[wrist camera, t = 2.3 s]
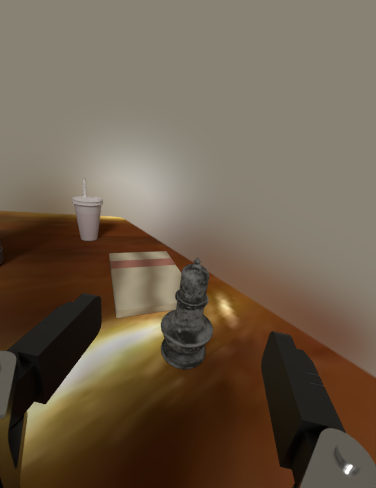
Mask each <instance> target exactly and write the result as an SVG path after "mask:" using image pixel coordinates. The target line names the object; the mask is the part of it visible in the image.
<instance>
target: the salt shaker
mask: <svg viewBox="0 0 376 488" xmlns="http://www.w3.org/2000/svg"><path fill="white" fill-rule="evenodd" d="M194 262H195V264H190V265H187V266H185V267H184V268H183V270H182V274H181V281H180V289H179V290H178V291H177V292H176V293H175V299H176V301H177V306H176V310H173V311H170V312H169V313H167V314H166V315H165V316H164V317H163V319H162V322H161V330H162V332H163V335H164V338H165V339H164V340H163V342H162V345H161V353H162V356H163V358H164V359H165V360H166V362H167V363H169V364H170V365H171V366H173V367H176V368H179V369H192V368H194V367H197V366H198V365H200V364H201V363H202V361H203V360H204V357H205V347H204V346H205V344H206V343H207V342H208V341H209V340H210V338H211V337H212V334H213V327H212V324H211V322H210V321H209V319H208V318H207V317H206V316H204V315H203V311H204V307H205V306H206V305H207V303H208V297H207V295H206V291H207V286H208V280H209V273H208V271H207V269H206V268H204V267H203V266H201V265H199V263H201V262H200V260H199V258H197V259H196V260H194Z"/></svg>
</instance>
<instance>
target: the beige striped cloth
mask: <svg viewBox="0 0 376 488" xmlns="http://www.w3.org/2000/svg"><path fill="white" fill-rule="evenodd" d="M109 260H110V268H111V277H112V285H113V293H114V301H115V310H116V318H121V317H128V316H135V315H142V314H148V313H155V312H162V311H169V310H176V306H177V301H176V299H175V293H176V292H177V291H178V290H179V289H180V281H181V272H180V271H179V269H178V268H177V266H176V265H175V263H174V262H173V260H172V259H171V258H170V256H169V255H168V253H167V252H166V251H164V252H137V253H109Z"/></svg>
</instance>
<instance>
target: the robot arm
mask: <svg viewBox="0 0 376 488" xmlns="http://www.w3.org/2000/svg"><path fill="white" fill-rule="evenodd" d="M3 261H4V257H3V250H2V247H1V242H0V265H1V264H2V263H3ZM101 322H102V320H101V298H100V296H96V295H91V294H86V293H83V294H82V295H80V296H79V297H78V298H77V299H76V300H75V301H74V302H68V303H66V304H64V305H62V306H60V307H58V308H56V309H55V310H54V311H53V312H52V313H51V314H49V315H48V317H46V318H45V319H43V320H42V321H41V323H40V324H38V325H36V326H35V327H34V328H33V329H32V330H30V331H29V332H28V333H27V334H26V335H25V336H23V337H22V338H21V339H20V340H19V341H18V342H16V343H15V344H14V345H13V346H12V347H10V348H9V349H8V350H7V351H0V488H20V474H21V465H22V456H23V448H24V440H25V431H26V423H27V410H28V409H29V407H30V406H31V405H32V404H33V402H38V403H42V404H46V403H47V402H48V400H49V399H50V398H51V396H52V395H53V394H54V392H55V391H56V390H57V388H58V387H59V386H60V384H61V383H62V382H63V380H64V379H65V378H66V376H67V375H68V374H69V372H70V371H71V370H72V368H73V367H74V366H75V364H76V363H77V362H78V360H79V359H80V358H81V356H82V355H83V354H84V352H85V351H86V350H87V348H88V347H89V346H90V344H91V343H92V342H93V340H94V339H95V338H96V336H97V335H98V333H99V331H100V328H101ZM261 370H262V376H263V381H264V386H265V392H266V397H267V402H268V407H269V412H270V417H271V423H272V428H273V433H274V438H275V443H276V448H277V453H278V459H279V464H280V467H284V468H288V469H291V470H292V472H293V476H294V481H295V483H294V485H293V486H292V488H376V465H375V464H374V462H373V460H372V458H371V457H370V456H369V454H368V453H367V451H366V450H365V449H364V448H363V447H362V446H361V445H360V444H359V443H358V442H357V441H356V440H355V439H353V438H352V437H351V436H349V435H348V434H346V432H345V430H344V428H343V426H342V423H341V421H340V419H339V417H338V415H337V413H336V411H335V409H334V406H333V404H332V402H331V400H330V398H329V396H328V394H327V391H326V389H325V387H323V383H322V381H321V379H320V376H318V372H317V370H316V368H315V366H314V364H313V362H312V360H311V359H310V358H309V357H308V356H307V355H306V353H305V352H304V351H303V350H299V349H296V347H295V344H294V342H293V339H292V337H291V336H290V335H288V334H283V333H278V332H273V331H272V332H271V333H270V335H269V338H268V341H267V344H266V347H265V350H264V354H263V357H262V363H261Z"/></svg>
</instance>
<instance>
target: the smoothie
mask: <svg viewBox="0 0 376 488" xmlns="http://www.w3.org/2000/svg"><path fill="white" fill-rule="evenodd" d="M83 190H84V196H76V197H73V198H72V202H73V203H74V206H75V211H76V216H77V221H78V226H79V231H80V236H81V239H82V240H85V241H93V240H96V239H97V238H98V229H99V221H100V212H101V205H102V204H103V200H102V199H101V198H99V197H94V196H86V179H83Z"/></svg>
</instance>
